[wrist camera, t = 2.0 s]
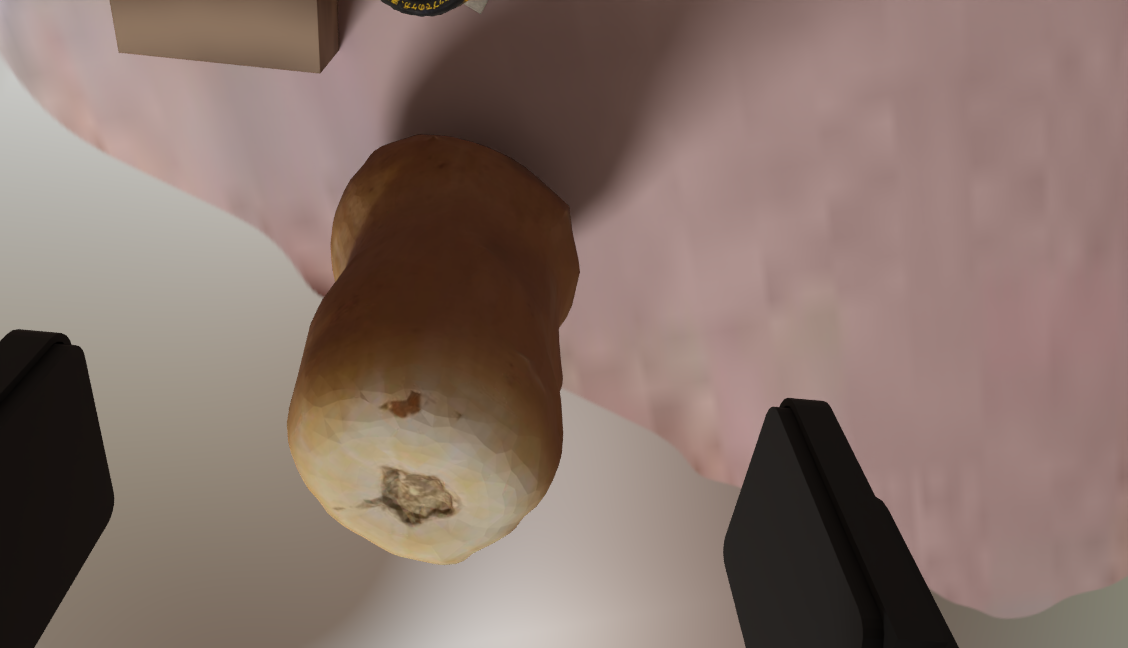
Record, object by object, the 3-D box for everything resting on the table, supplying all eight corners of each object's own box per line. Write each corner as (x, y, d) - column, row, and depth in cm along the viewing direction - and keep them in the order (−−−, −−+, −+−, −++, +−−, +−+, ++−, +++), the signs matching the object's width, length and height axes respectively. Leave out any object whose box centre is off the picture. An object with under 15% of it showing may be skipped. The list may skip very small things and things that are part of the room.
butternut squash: (346, 280, 54) (224, 585, 33) (363, 81, 47) (221, 305, 26) (552, 315, 56) (561, 624, 35) (597, 128, 49) (643, 373, 28)
